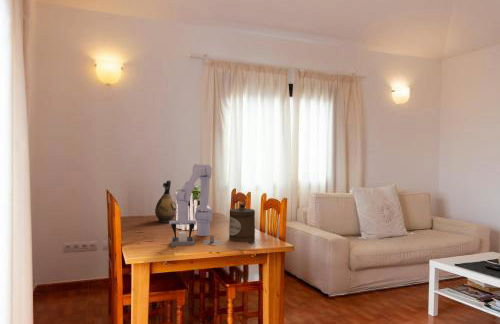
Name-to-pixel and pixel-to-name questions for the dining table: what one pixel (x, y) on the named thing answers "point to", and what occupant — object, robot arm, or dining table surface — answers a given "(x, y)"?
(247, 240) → the wooden container
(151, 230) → the dining table surface
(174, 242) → the bin
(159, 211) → the ceramic jug
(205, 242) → the stud block
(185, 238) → the block
